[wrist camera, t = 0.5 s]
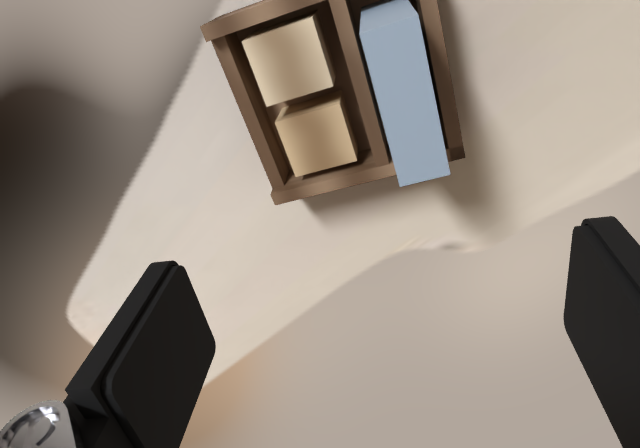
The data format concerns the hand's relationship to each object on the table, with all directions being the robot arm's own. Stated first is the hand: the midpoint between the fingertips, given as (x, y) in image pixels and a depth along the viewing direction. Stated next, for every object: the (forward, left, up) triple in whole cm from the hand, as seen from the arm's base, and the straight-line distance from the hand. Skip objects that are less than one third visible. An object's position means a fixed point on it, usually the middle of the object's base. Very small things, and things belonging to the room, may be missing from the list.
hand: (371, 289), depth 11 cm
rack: (+2, +1, -28) cm, 28 cm away
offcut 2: (+5, +4, -27) cm, 28 cm away
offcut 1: (+5, -2, -27) cm, 28 cm away
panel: (-2, +1, -27) cm, 27 cm away
